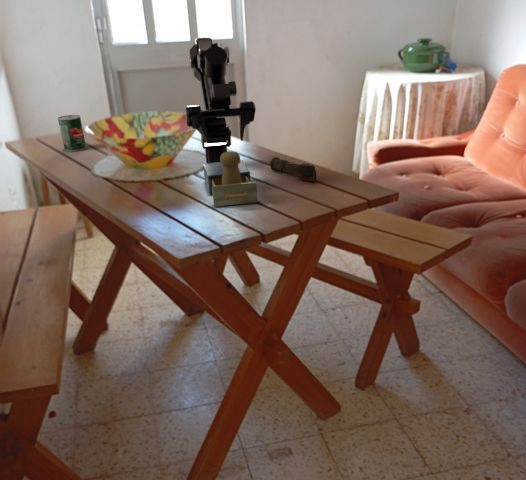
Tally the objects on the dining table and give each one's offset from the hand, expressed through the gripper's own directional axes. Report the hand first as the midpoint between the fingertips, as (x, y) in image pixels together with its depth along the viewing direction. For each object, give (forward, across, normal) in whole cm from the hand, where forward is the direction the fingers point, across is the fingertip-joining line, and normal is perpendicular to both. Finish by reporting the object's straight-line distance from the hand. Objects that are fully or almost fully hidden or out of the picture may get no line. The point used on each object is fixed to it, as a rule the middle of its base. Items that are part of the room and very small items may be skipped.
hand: (225, 141), depth 151 cm
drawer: (+16, 0, +3) cm, 16 cm away
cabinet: (+7, 0, +11) cm, 13 cm away
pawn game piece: (+14, 0, +3) cm, 15 cm away
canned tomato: (-38, -48, +56) cm, 83 cm away
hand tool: (+4, +21, +15) cm, 26 cm away
